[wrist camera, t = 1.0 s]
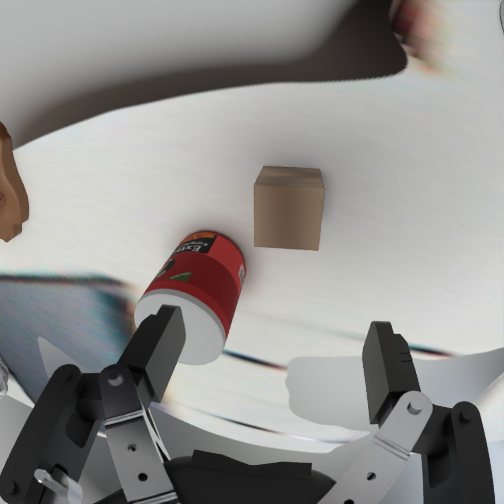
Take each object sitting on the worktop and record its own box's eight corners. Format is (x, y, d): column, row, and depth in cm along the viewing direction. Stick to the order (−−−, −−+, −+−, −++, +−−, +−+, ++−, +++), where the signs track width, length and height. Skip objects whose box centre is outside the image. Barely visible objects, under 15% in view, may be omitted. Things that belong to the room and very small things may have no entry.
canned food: (212, 214, 30) (170, 277, 20) (262, 271, 32) (245, 348, 23) (163, 253, 33) (116, 317, 23) (211, 302, 35) (182, 374, 26)
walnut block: (319, 168, 26) (323, 188, 21) (315, 220, 28) (318, 250, 23) (263, 166, 27) (253, 185, 21) (263, 216, 29) (254, 246, 24)
